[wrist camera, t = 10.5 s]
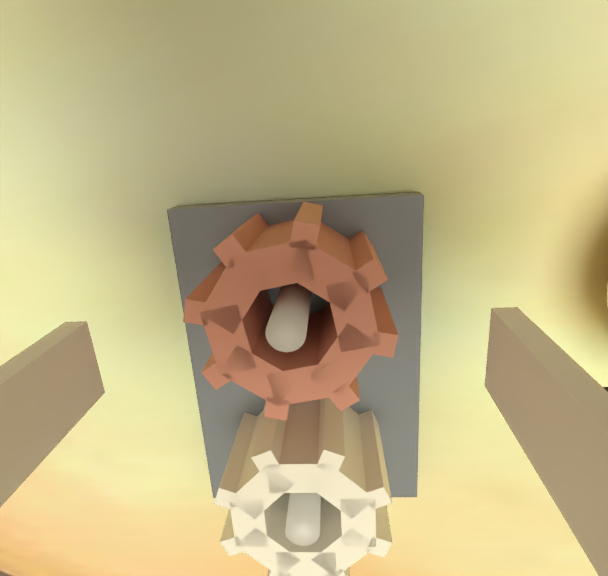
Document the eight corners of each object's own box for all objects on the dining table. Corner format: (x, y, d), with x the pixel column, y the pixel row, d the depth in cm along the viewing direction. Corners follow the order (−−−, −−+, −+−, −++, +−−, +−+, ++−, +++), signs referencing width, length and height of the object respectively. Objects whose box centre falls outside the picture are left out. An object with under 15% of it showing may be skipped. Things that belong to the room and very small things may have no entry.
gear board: (177, 205, 23) (102, 233, 16) (417, 191, 22) (462, 213, 15) (219, 480, 29) (179, 598, 21) (412, 479, 28) (442, 601, 20)
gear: (203, 225, 22) (159, 251, 16) (362, 187, 21) (373, 202, 15) (246, 366, 24) (221, 431, 19) (391, 338, 23) (410, 399, 18)
